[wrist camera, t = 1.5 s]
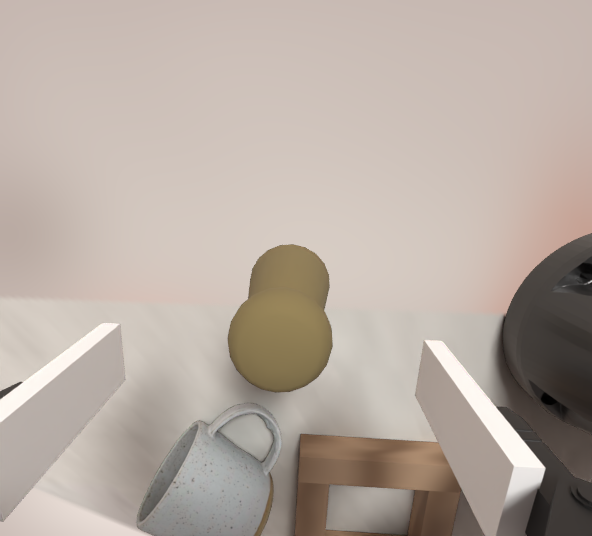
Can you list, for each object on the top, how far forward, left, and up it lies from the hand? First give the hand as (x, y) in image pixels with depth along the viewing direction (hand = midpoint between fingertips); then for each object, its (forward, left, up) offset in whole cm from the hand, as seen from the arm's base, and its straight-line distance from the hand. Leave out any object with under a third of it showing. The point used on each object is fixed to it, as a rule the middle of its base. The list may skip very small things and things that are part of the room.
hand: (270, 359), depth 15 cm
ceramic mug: (+5, +15, -12) cm, 20 cm away
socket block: (-8, +20, -12) cm, 25 cm away
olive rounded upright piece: (0, 0, -12) cm, 12 cm away
